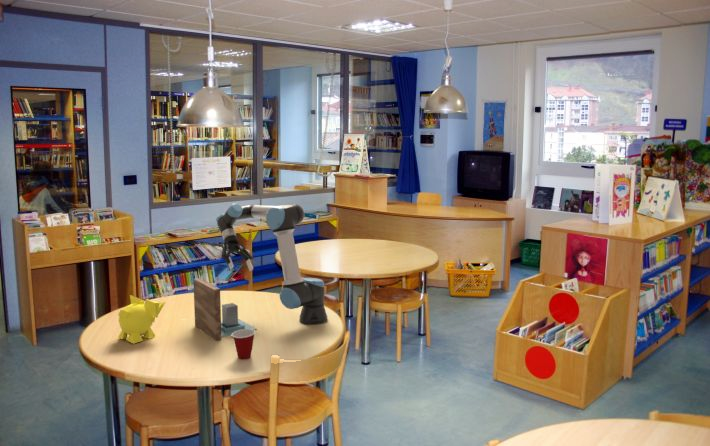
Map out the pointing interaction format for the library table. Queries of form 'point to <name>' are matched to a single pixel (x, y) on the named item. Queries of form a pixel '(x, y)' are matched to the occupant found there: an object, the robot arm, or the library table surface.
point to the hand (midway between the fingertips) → (241, 269)
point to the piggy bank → (138, 319)
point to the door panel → (207, 308)
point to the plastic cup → (243, 342)
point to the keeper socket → (235, 328)
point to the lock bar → (229, 315)
